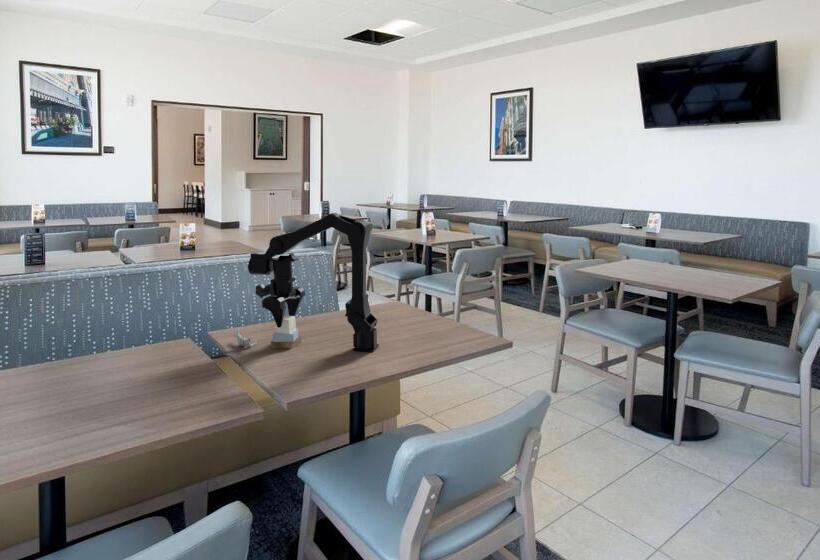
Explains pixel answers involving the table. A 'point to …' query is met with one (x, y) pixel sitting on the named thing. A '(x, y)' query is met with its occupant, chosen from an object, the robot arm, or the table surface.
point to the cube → (287, 325)
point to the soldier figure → (243, 340)
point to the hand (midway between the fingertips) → (285, 323)
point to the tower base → (286, 343)
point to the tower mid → (285, 336)
